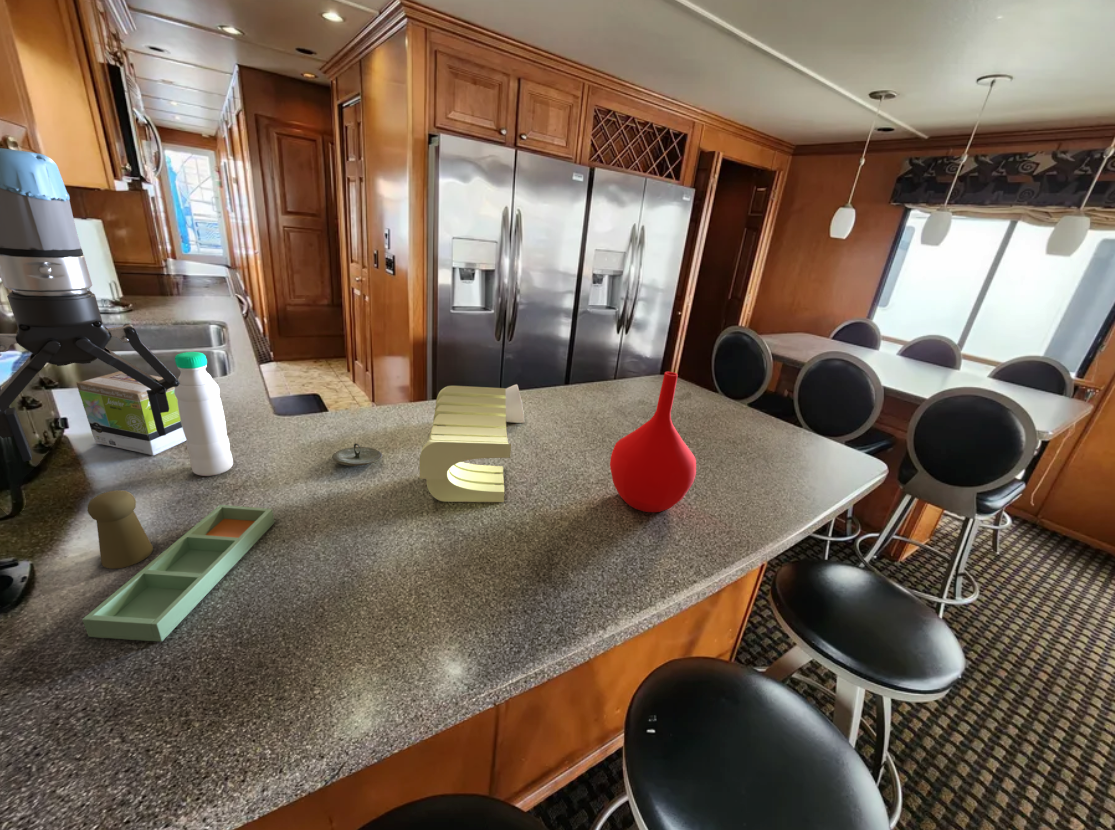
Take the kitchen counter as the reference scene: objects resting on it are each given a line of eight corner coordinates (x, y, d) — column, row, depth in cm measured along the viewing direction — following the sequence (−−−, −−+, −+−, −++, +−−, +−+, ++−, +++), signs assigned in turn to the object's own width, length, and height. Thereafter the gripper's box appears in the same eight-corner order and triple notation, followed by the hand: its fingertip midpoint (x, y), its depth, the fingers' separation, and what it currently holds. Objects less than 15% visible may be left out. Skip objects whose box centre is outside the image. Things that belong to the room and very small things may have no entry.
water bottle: (240, 468, 98) (219, 355, 88) (202, 481, 92) (175, 361, 83) (224, 457, 101) (202, 347, 92) (186, 469, 95) (158, 352, 86)
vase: (595, 509, 97) (616, 375, 86) (615, 472, 113) (635, 355, 102) (682, 534, 92) (716, 396, 81) (690, 491, 108) (719, 371, 97)
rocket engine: (453, 389, 128) (516, 378, 130) (458, 402, 139) (516, 392, 141) (460, 428, 125) (524, 416, 127) (464, 438, 136) (524, 427, 138)
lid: (332, 479, 100) (331, 462, 97) (331, 449, 107) (331, 433, 104) (384, 475, 105) (384, 459, 102) (380, 447, 112) (380, 431, 109)
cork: (156, 557, 72) (139, 497, 68) (103, 574, 68) (82, 512, 64) (149, 538, 76) (133, 480, 72) (99, 553, 71) (78, 493, 67)
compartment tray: (88, 637, 58) (81, 619, 57) (223, 518, 82) (220, 504, 81) (161, 641, 59) (156, 624, 58) (274, 522, 83) (272, 508, 81)
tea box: (93, 445, 100) (73, 381, 95) (139, 427, 109) (123, 368, 104) (153, 456, 98) (136, 392, 93) (194, 438, 108) (182, 378, 102)
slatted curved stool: (436, 452, 113) (436, 384, 106) (501, 454, 116) (505, 388, 109) (420, 526, 86) (419, 441, 79) (505, 526, 88) (511, 444, 82)
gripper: (-130, 298, 46) (-45, 482, 54) (184, 293, 63) (212, 432, 71) (-115, 287, 50) (-39, 457, 58) (173, 284, 68) (201, 416, 76)
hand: (99, 444), depth 65 cm, fingers open, 13 cm apart
